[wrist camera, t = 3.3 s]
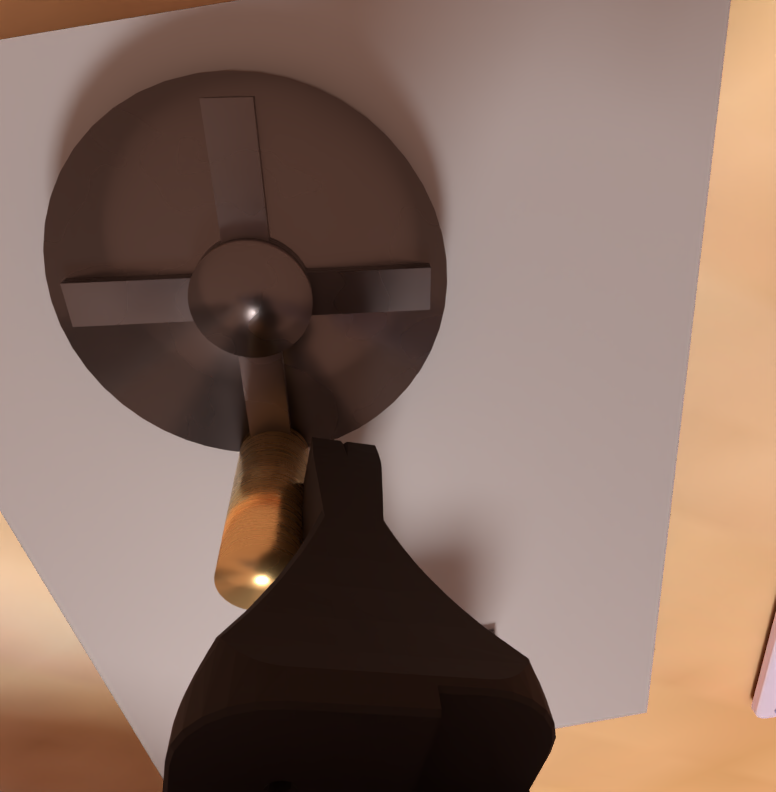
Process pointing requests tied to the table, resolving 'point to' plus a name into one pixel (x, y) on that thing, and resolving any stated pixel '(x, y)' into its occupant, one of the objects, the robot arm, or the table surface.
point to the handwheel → (246, 282)
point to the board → (453, 348)
